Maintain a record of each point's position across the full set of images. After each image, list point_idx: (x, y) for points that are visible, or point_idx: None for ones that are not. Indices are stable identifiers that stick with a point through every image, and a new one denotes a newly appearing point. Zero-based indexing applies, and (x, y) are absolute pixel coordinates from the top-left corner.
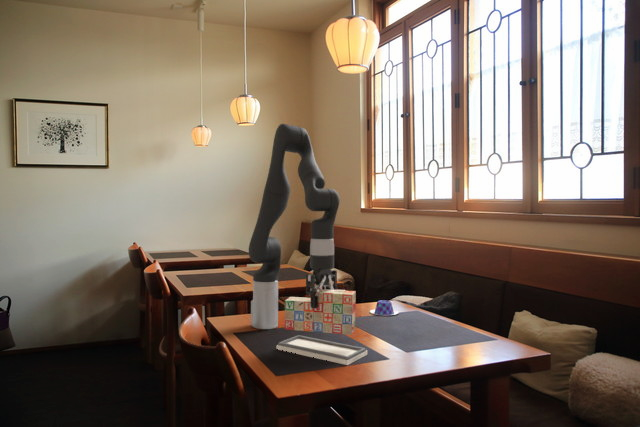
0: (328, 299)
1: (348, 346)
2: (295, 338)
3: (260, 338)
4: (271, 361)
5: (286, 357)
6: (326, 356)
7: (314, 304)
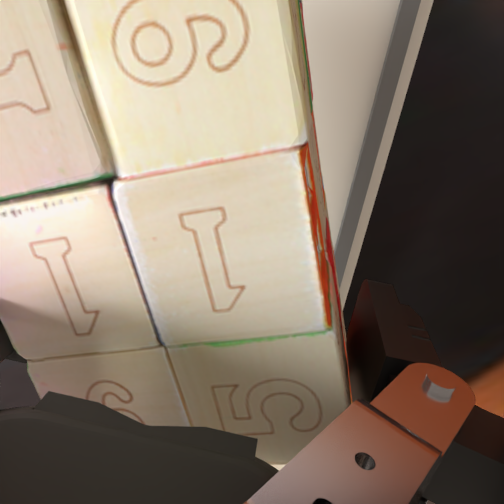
0: (312, 198)
1: None
2: None
3: None
4: (496, 325)
5: (418, 289)
6: (406, 88)
7: (419, 321)
